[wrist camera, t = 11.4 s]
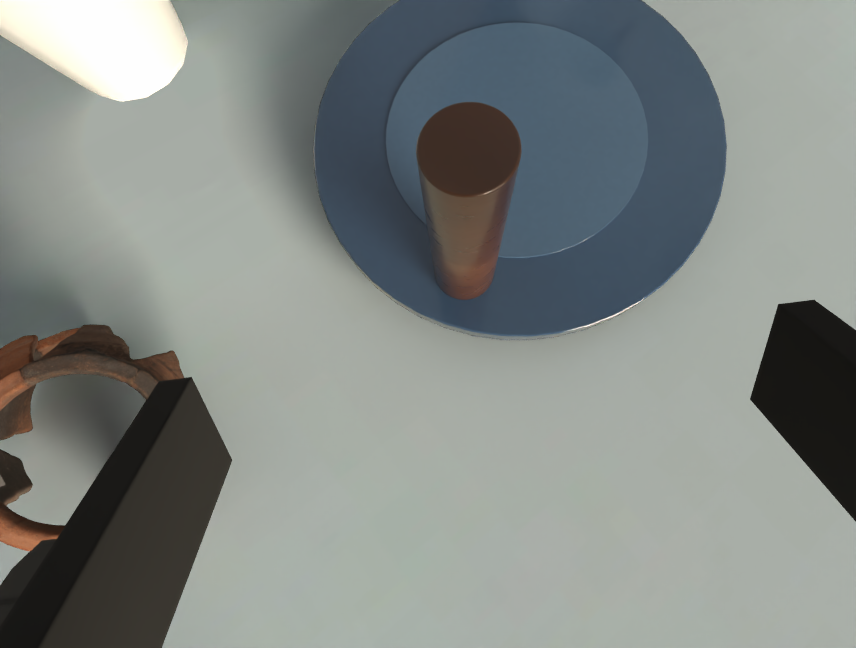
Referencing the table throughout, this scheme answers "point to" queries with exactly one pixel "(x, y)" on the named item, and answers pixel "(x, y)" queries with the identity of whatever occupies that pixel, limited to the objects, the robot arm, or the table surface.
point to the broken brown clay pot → (51, 357)
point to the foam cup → (101, 41)
